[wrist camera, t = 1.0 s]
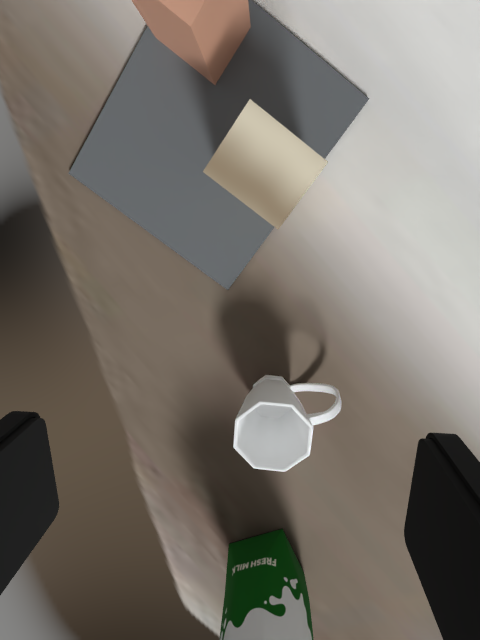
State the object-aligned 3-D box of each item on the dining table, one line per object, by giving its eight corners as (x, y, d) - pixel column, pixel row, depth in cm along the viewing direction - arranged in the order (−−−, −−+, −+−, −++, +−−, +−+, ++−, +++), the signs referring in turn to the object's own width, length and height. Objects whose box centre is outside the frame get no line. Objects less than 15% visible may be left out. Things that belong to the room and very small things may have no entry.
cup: (229, 372, 38) (219, 412, 31) (323, 345, 37) (338, 380, 29) (250, 429, 40) (246, 481, 32) (341, 406, 38) (359, 454, 31)
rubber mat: (190, -49, 29) (189, -53, 28) (367, 100, 31) (369, 98, 30) (70, 173, 34) (68, 173, 34) (228, 289, 36) (227, 290, 35)
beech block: (256, 132, 32) (251, 96, 22) (311, 176, 32) (329, 159, 23) (222, 184, 33) (202, 171, 23) (275, 225, 33) (278, 229, 24)
